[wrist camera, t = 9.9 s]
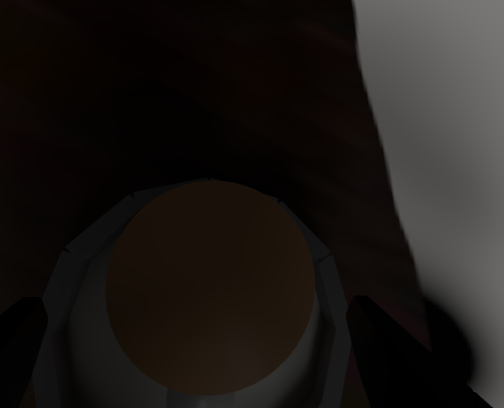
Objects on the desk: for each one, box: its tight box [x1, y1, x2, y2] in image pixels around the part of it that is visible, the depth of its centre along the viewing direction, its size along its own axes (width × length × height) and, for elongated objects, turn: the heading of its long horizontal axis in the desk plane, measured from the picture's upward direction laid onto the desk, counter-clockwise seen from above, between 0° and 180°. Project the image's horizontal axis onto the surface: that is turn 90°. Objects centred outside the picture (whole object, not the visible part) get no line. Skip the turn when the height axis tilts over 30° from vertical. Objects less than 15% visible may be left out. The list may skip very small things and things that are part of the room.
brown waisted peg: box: [105, 181, 315, 396], centre depth 12 cm, size 6×6×12 cm
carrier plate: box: [32, 177, 351, 408], centre depth 17 cm, size 16×16×3 cm
